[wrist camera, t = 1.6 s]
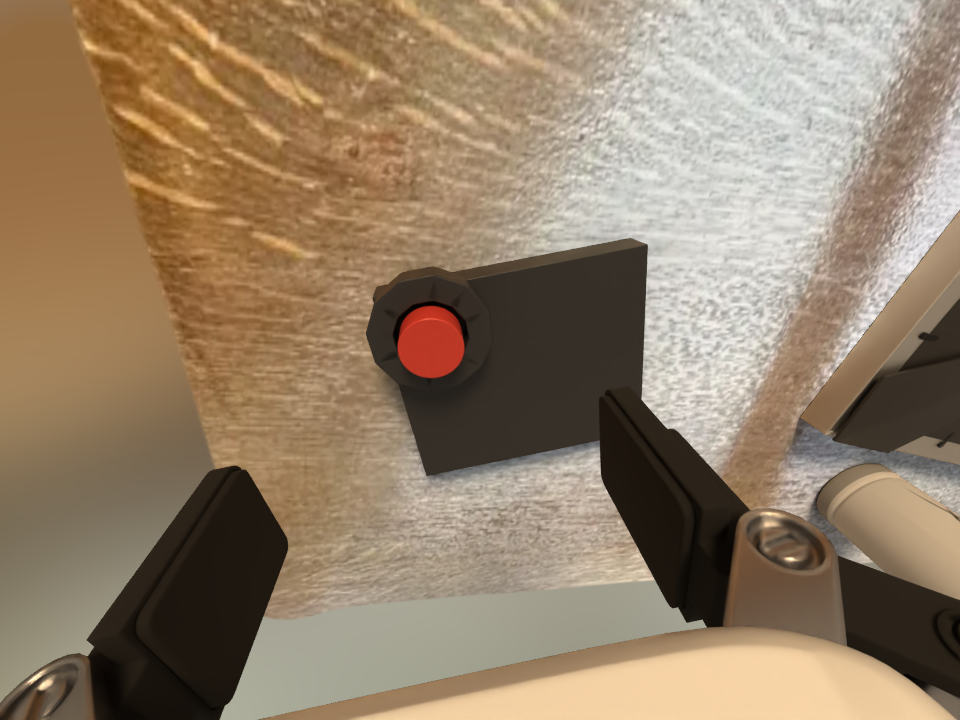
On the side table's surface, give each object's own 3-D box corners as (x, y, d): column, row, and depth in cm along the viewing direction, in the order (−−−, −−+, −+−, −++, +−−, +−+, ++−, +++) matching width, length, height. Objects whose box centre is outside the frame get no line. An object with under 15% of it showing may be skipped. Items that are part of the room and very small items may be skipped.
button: (408, 366, 20) (406, 384, 18) (392, 311, 18) (389, 325, 17) (466, 355, 20) (469, 371, 18) (455, 299, 18) (458, 312, 17)
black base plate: (420, 457, 26) (419, 497, 23) (363, 270, 20) (351, 290, 17) (627, 415, 27) (653, 448, 24) (631, 219, 21) (666, 230, 18)
